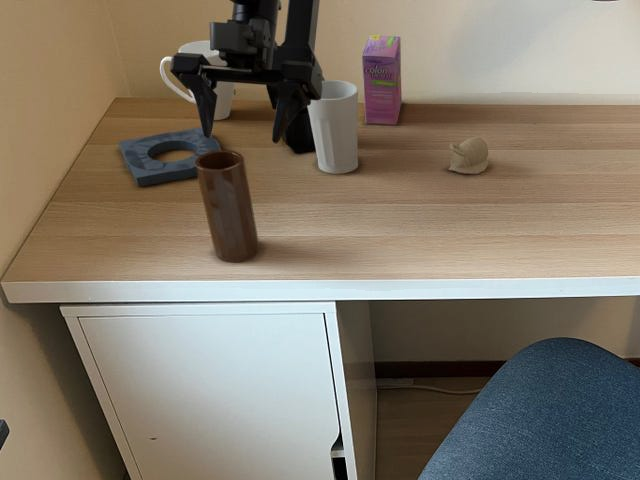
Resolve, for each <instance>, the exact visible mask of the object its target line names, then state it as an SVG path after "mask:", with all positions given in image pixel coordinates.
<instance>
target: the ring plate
mask: <svg viewBox="0 0 640 480" xmlns="http://www.w3.org/2000/svg"><path fill="white" fill-rule="evenodd" d="M117 143H118V147H119V151H120V152H121V155H122V156H123V159H124V162H125V165H126V168H127V170H128V171H129V172H130V173H131V174H132V177H133V179H134V181H135V183H136V185H137V186H138V188H141V187H146V186H150V185H156V184H161V183H167V182H172V181H178V180H179V181H180V180H184V179H185V180H186V179H190V178H195V177H198V176H197V171H196V167H195V161H196V158H198V157H199V156H200V155H202V154H205V153H207V152H211V151H217V150H222V149H221V145H220V143H219V142H218V140H217V139H215V138H214V137H213V136H212V134H211V135H210V138H206V137H205V136H204V134H203V129H202V126H200V127H195V128H189V129H183V130H179V131H178V130H177V131H169V132H163V133H157V134H153V135H149V136H143V137H138V138H137V137H136V138H132V139H126V140H120V141H117ZM171 150H188V151H191V152H195V153H194V154H192V155H191V156H189V157H187V158H183V159H180V160H175V161H174V160H173V161H172V160H171V161H163V160H157V159H153V157H154V156H156V155H158V154H160V153H163V152H165V151H166V152H167V151H171Z"/></svg>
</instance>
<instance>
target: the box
mask: <svg viewBox="0 0 640 480" xmlns="http://www.w3.org/2000/svg"><path fill="white" fill-rule="evenodd" d="M401 41H402V40H401V36H395V35H377V34H376V35H375V34H370V35H368V37H367V39H366V43H365V46H364V49H363V52H362V55H361V63H362V81H363V83H362V84H363V101H364V120H365V121H364V123H365V124H366V125H367V124H368V125H382V126H383V125H385V126H397V124H398V120H399V115H400V111H401V107H402V102H403V101H402V100H403V99H402V53H401V52H402V51H401V50H402V43H401Z"/></svg>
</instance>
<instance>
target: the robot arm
mask: <svg viewBox="0 0 640 480" xmlns="http://www.w3.org/2000/svg"><path fill="white" fill-rule="evenodd" d="M229 2H231V3H233V5H232V13H231V19H227V20H226V22H221V21H220V22H219V21H209V41H210V50H212V51H214V50H217V51H219V55H218V56H219V58H220V59H221V60H222V61H226V62H227V63H226V66H218V65H211V64H210V63H209V61H208V60H207V59H206V58H205V56H204V55H203V54H193V53H180V52H179V51H178V52H176V53H175V54H174V55H173V56H172V57H173V58H172V59H171V62H170V67H169V72H170V73H171V74H172V75H173V76H174V77H175V78H176V79H177V80H178V82H180V83H181V84H182V86H183V87H184V88H185V89H186V90H188V89H189V90H190V91H191V92H192V93H193V95H194V98H195V101H196V104H195V105H196V107H197V112H198V116H199V120H200V124H201V125H200V126H201V127H202V129H203V134H204V136H205V137H206V138H210V135H211V136H212V131H213V128H214V121H215V120H214V115H215V108H216V102H217V94H216V93H215V92H214V91H213V90H214V89H215V88H216V87H217V81H221V82H234V84H235V83H236V84H247V85H248V84H249V85H261V86H262V85H263V86H265V88H266V90H267V95H268V98H269V102H270V104H271V107H272V110H275V114H274V119H273V125H272V133H271V134H272V135H271V141H272V142H273V144H279V142H280V140H282V142H283V143H284V144H285V145H286V146H287V147H288V148H289V149H290V151H292V153H294V154H298V153H303V152H308V151H313V150H316V147H315V142H314V137H313V132H312V127H311V122H310V117H309V111H308V107H307V106H308V105H310V104H311V100H317V101H318V100H320V99H321V94H322V81H326V79H325V77H324V75H323V69H322V67H321V65H320V63H319V61H318V57H317V56H316V54H315V49H316V38H317V29H318V21H319V20H318V19H319V11H320V3H321V1H320V0H288V3H287V4H288V5H287V14H286V22H285V33H284V40H283V42H282V43H281V44H280V45H279V44H278V43H277V41H276V32H277V26H278V17H279V11H281V10H282V8H283V7H282V2H281V0H229ZM189 90H188V91H189Z"/></svg>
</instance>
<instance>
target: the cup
mask: <svg viewBox="0 0 640 480" xmlns="http://www.w3.org/2000/svg"><path fill="white" fill-rule="evenodd" d="M307 107H308V111H309V117H310V122H311V127H312V132H313V137H314V142H315V147H316V149H315V152H316V157H317V165H318V168H319V170H321V171H322V172H325V173H327V174H334V175H339V174H340V175H341V174H346V173H351V172H353V171H355V170H356V169H357V168H358V167H359V157H358V111H359V110H358V109H359V88H358V86H356V85H355V84H354V83H352V82H349V81H345V80H338V79H336V80H335V79H327V80H326V79H325V81H322V94H321V99H320V100H318V101H317V100H311V104H310V105H308V106H307Z"/></svg>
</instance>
